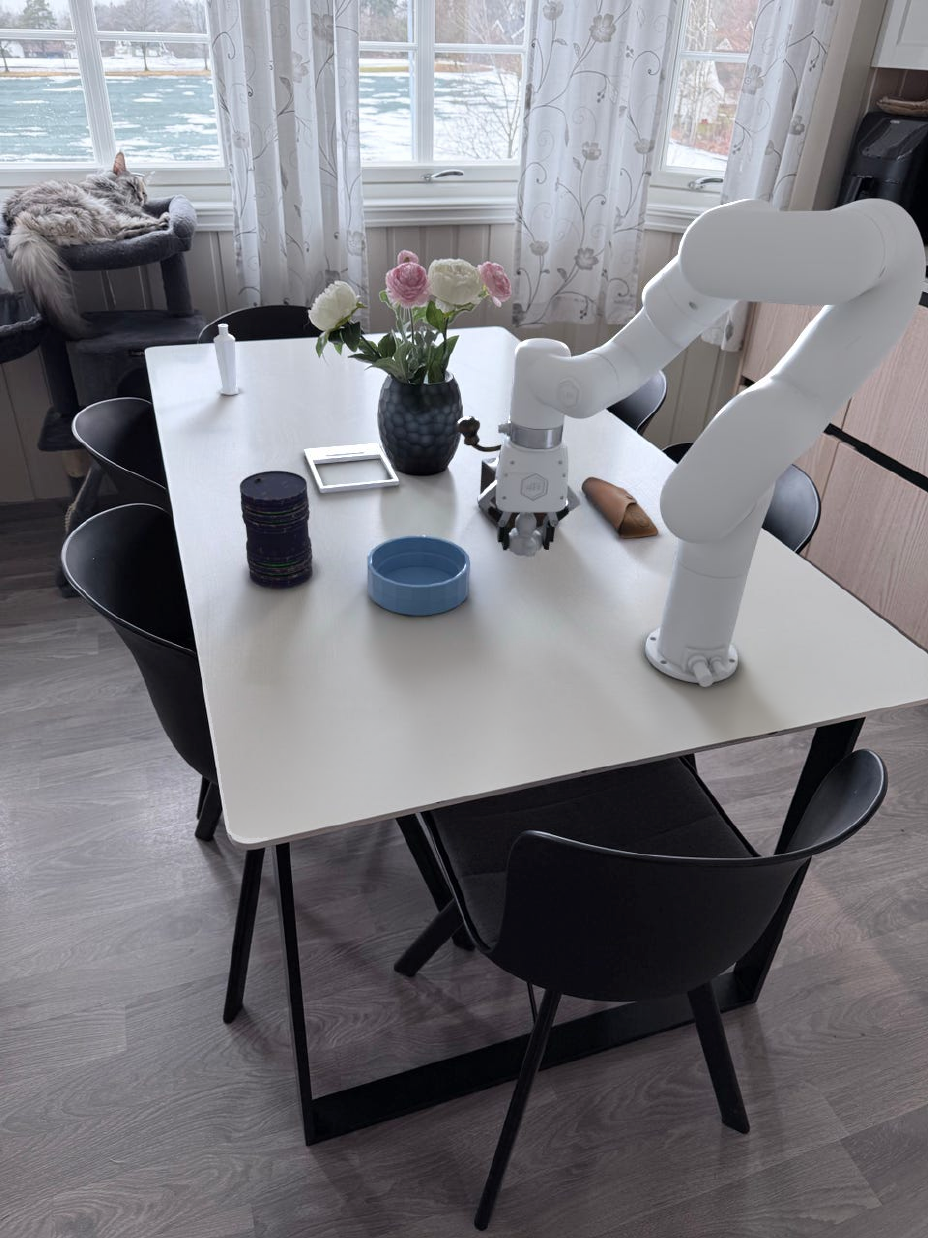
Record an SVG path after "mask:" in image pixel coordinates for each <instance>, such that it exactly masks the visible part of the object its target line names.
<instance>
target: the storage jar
mask: <svg viewBox="0 0 928 1238" xmlns="http://www.w3.org/2000/svg"><path fill="white" fill-rule="evenodd" d="M239 492H240V507H241V509H240V510H241V512H242V514H241V517H242V521H243V524H244V525H245V532H246V539H247V540H246V542H245V550H246V562H247V566H248V569H249V571H248V573H249V579H250V580H251V581H252V582H253V583H254V584H255V585H257V586H259V587H262V588H265V589H271V590H285V589H291V588H295V587H299V586H300V585H303V584H304V583H307V582H308V581H309V580H310V579H311V578H312V576H313V547H312V546H313V545H312V540H311V537H310V535H309V533H310V532H309V519H310V514H311V513H310V509H309V508H310V501H309V500H310V499H309V496H308V495H309V494H308V481H307V480H306V478H305V477H303V476H302V475H300V474H298V473H295V472H292V471H286V470H268V471H267V470H266V471H261V472H257V473H253V474H251V475H249V476H246V477H245V478H244V479H242V481H240V483H239Z"/></svg>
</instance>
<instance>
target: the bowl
mask: <svg viewBox="0 0 928 1238" xmlns="http://www.w3.org/2000/svg"><path fill="white" fill-rule="evenodd" d="M366 565H367V568H366V569H367V592H368V595H369V596H370V598H371V599H372V601H373V602H374V603H376V604H377V605H379V606H380V607H381V608H383V609H385V610H387V611H390V612H394V613H395V614H396V613H397V614H402V615H407V616H431V615H436V614H437V615H438V614H441V613H445V612H448V611H450V610H452V609H454V608H457V607H458V606H460V604H462V603H463V602H464V601H465V600H466V598H467V596H468V594H469V591H470V574H471V573H470V572H471V562H470V556H469V555H468V553H467V552H466V551H465V549H463V548H462V547H461V546H459V545H458V544H456V543H454V542H453V541H450V540H447V539H443V538H441V537H437V536H429V535H405V536H404V535H403V536H400V537H399V536H397V537H393V538H390V539H388V540H385V541H383V542H381V543H379V544H378V545H376V546H375V547H374V548H373V547H372V549H371V550H370V552H369V554H368V555H367V564H366Z"/></svg>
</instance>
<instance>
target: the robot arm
mask: <svg viewBox="0 0 928 1238" xmlns="http://www.w3.org/2000/svg"><path fill="white" fill-rule="evenodd" d="M926 259H927V257H926V251H925V246H924V242H923V238H922V236H921V232H920V230H919V227H918V226H917V224H916V222H915V220H914V219H913V217H912V216H911V215H910V214H909V213H908V212H907V210H906V209H904V208H903V207H902V206H901V205H899V204H898V203H896V202H893V201H892V200H888V199H883V198H865V199H860V200H856V201H855V200H854V201H852V202H850V203H846V204H843V205H841V206H838V207H836V208H832V209H830V210H781V209H780V208H778V207H777V206H776V205H774V204H773V203H771V202H770V201H767V200H764V199H760V198H746V199H740V200H737V201H734V202H730V203H726V204H723V205H719V206H716V207H713V208H710V209H709V210H707V211H705V212H703V213H701V214H700V215H699V216H698V217H697V218H695V219H694V220H693V221H692V222H691V224H690V225H689V226H688V227H687V229H686V231H685V232H684V234H683V236H682V238H681V241H680V243H679V248H678V252H677V254H676V255H675V257H674V258H673V259H671V260H670V262H668V263H667V264H666V265H665V266H664V267H663V268H662V269H661V270H660V271H659V272H658V273H657V274H655V276H653V277H652V278H651V279H650V280H649V281H648V282H647V284H646V285H645V286H644V288H643V290H642V294H641V302H642V308H641V310H640V311H639V312H638V313H637V314H636V315H635V316H634V317H633V318H632V319H631V320H630V321H629V322H628V323H627V324H625V326H624V327H623V328H622V329H621V330H619V331H618V332H617V333H616V334H615V335H614V336H613V337H611V339H609V340H608V341H607V342H606V343H604V344H603V345H601V346H599V347H595V348H594V349H592V350H589V351H586V352H585V353H583V354H579V355H574V356H573V355H572V352H571V350H570V348H569V347H568V346H567V345H566V344H565V343H564V342H562V341H559V340H555V339H552V338H545V337H537V338H529V339H528V338H527V339H525V340H523V341H521V342H520V343H519V344H518V345H517V346H516V348H515V350H514V356H513V370H512V380H511V393H510V408H509V415H508V419H507V420H506V422H503V423H498V424H497V425H498V426H497V432H498V434H503V435H505V436H504V437H503V440H502V442H501V444H502V446H501V449H500V450H499V454H498V457H499V458H498V457H497V458H498V464H497V470H496V476H495V481H494V482H493V483H492V484H491V485H490V486H489V487H488V488H487V489H486V490H485V491H484V492H483V493H482V494H481V495H480V494H479V495H478V496H477V498H476V501H477V506H478V505H479V506H480V507H482V508H483V509H484V510H485V511H487V512H488V513H489V515H490V516H491V517H492V518H493V519H494V520H495V521H496V522H498V527H497V535H496V538H497V539H496V541H497V543H498V544H499V543H500V544H501V549H502V551H507V550H509V548H508V543H509V534H510V532H509V531H510V527H509V523H508V520H509V518H510V516H511V514H512V512H523V513H537V512H547V516H546V517H545V519H543V526H541V536H542V537H543V545H542V548H543V550H545V551H549V550H550V545H551V543H554V541H555V531H556V527H557V526H559V522H560V521H562V520H563V519H564V518H565V517H567V516H568V515H569V514H570V512H573V511H574V510H575V509H576V508H577V507H579V506H580V505H581V499H580V497H579V496H578V495H577V493H576V492H575V491H574V490H573V489H572V488H571V487H570V485H569V448H568V443H567V442H566V441H565V439H564V438H563V433H564V425H565V418H566V417H569V418H573V419H576V420H577V419H578V420H584V419H588V418H591V417H593V416H595V415H596V414H597V415H598V414H599V413H600V412H603V411H604V410H606V409H608V408H610V407H611V406H613V405H616V404H617V403H619V402H621V401H623V400H625V399H626V398H628V397H630V396H631V395H632V394H634V393H635V392H636V391H638V390H639V389H640V388H641V387H642V386H644V385H645V384H646V383H648V381H650V379H652V378H654V377H655V375H657V374H658V373H659V372H661V371H662V370H663V369H664V368H666V366H668V365H669V364H670V363H671V362H672V361H673V360H674V359H675V358H676V357H677V356H678V355H679V354H681V352H683V350H685V349H686V348H688V347H689V346H690V345H691V343H692V342H693V341H694V340H695V339H697V338H698V337H699V336H700V335H702V333H704V332H705V331H706V330H707V329H708V328H710V327H711V326H712V325H713V324H714V323H715V322H716V321H717V320H719V319H720V318H721V317H723V315H725V314H726V313H727V312H728V311H729V310H731V309H732V308H733V307H734V306H735V305H736V304H738V303H739V302H740V301H741V302H752V303H767V304H769V303H770V304H781V305H794V306H811V307H812V306H813V307H822V309H821V310H820V311H819V312H818V314H816V316H815V317H814V318H813V319H812V320H811V321H810V322H809V324H808V325H807V326H806V327H805V328H804V329H803V331H802V332H801V333H800V335H799V336H798V338H797V340H796V341H795V342H794V343H793V345H792V346H791V347H790V348H789V350H788V351H787V352H786V353H785V355H784V356H783V357H782V358H781V359H780V361H779V362H777V364H776V365H775V366H774V367H773V368H772V369H771V371H769V372H768V373H767V374H766V375H765V376H764V377H762V378H761V379H759V380H758V381H756V382H755V383H753V384H751V385H750V386H748V387H747V388H745V389H744V390H742V391H741V392H740V393H738V394H736V395H735V396H734V397H733V398H731V399H730V400H729V401H728V402H727V403H726V404H725V405H724V406H722V408H721V409H720V410H719V411H718V412H717V413H716V414H715V416H714V417H713V418H712V419H711V421H710V422H709V423H708V425H707V426H706V427H705V428H704V430H702V432H701V434H700V435H699V436H698V437H697V438H696V440H695V442H693V444H692V445H691V446H690V448H688V451H686V453H684V455H683V456H682V458H681V459H680V461H679V462H678V463H677V465H676V466H675V467H674V468H673V469H672V471H671V472H670V474H669V475H668V477H667V478H666V480H665V482H664V484H663V485H662V487H661V491H660V495H659V496H660V498H659V511H660V516H661V519H662V521H663V523H664V525H665V527H666V528H667V530H668V531H669V532H670V533H671V534H672V535H673V536H675V538H677V543H676V548H675V552H674V557H673V562H672V567H671V572H670V577H669V583H668V587H667V593H666V597H665V603H664V608H663V613H662V619H661V623H660V627H658V628H657V629H655V630H653V631H652V632H651V633H650V634H649V635H648V636H647V638H646V642H645V646H644V652H645V656H646V658H647V660H648V661H649V662H650V664H652V665H653V667H654V668H656V669H658V670H659V671H660V672H661V673H663V674H665V675H666V676H669V677H671V678H674V679H677V680H680V681H683V682H689V683H697V684H699V686H700V687H702V688H707V687H710V686H712V685H713V683H717V682H720V681H723V680H725V679H727V678H729V677H730V676H732V675H733V674H734V673H735V671H736V670H737V667H738V663H739V654H738V651H737V649H736V647H735V646H734V644H732V643H731V642H732V639H733V634H734V632H735V631H734V630H735V627H736V623H737V619H738V615H739V611H740V608H741V604H742V599H743V596H744V593H745V587H746V585H747V580H748V575H749V572H750V569H751V564H752V560H753V559H754V558H753V557H754V553H755V550H756V546H757V542H758V539H759V535H760V532H761V530H762V526H763V524H764V522H765V519H766V516H767V514H768V511H769V508H770V505H771V502H772V499H773V496H774V493H775V489H776V484H777V481H778V480H779V478H781V476H782V475H783V474H784V473H785V472H786V471H787V470H788V468H790V467H791V466H792V465H793V464H794V463H795V462H796V461H797V460H799V458H801V457H802V456H803V455H804V454H806V453H807V452H808V451H809V450H810V448H812V446H813V445H815V443H816V442H817V441H818V440H819V438H820V437H821V435H822V434H823V433H824V431H825V430H826V429H827V427H828V426H829V424H830V423H831V422H832V421H833V419H835V417H836V416H837V415H838V413H840V411H841V410H842V409H843V408H844V407H845V406H846V405H847V404H848V402H849V401H850V400H852V398H853V397H854V396H855V394H856V393H857V392H858V391H859V390H860V388H862V386H863V385H864V384H865V382H866V381H867V380H868V379H869V377H870V376H871V375H872V374H873V373H874V372H875V371H876V370H877V368H878V367H879V366H880V365H881V364H882V362H883V361H884V360H885V359H886V358H887V356H888V355H889V354H890V353H891V351H892V350H893V349H894V348H895V346H896V345H897V344H898V342H899V341H900V339H901V338H902V337H903V335H904V333H905V332H906V330H907V329H908V327H909V325H910V324H911V322H912V319H913V317H914V315H915V313H916V311H917V309H918V306H919V304H920V301H921V298H922V296H923V295H922V294H923V292H924V291H923V290H924V286H925V280H926V271H927V260H926ZM565 416H566V417H565ZM494 496H495V497H496V504H497V507H498V508H497V507H496V506H495V505H494V504H492V503H491V502H490V500H491V499H492V498H493V497H494Z"/></svg>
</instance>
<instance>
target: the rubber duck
mask: <svg viewBox="0 0 928 1238" xmlns="http://www.w3.org/2000/svg"><path fill="white" fill-rule="evenodd" d="M515 527H516V528H513V529H512V530H511V532H509V543H508V550H509V552H511V553H513V554H515V555H517V556H525V557H534V556H535V553H536V552H538V551H540V550H541V549H542V548H543V537H542V533H540V532H539V531H538V530H536V528H537V527H536V518H535V516H534V514H533V513H523V512H521V513H520V514H519V515H518V516H517V518H516V521H515Z"/></svg>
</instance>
